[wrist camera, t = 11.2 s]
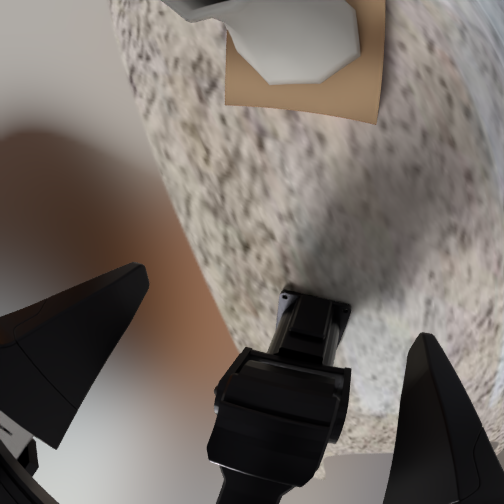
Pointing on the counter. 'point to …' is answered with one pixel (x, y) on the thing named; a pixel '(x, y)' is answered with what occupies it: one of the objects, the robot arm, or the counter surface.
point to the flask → (284, 35)
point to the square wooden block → (328, 92)
